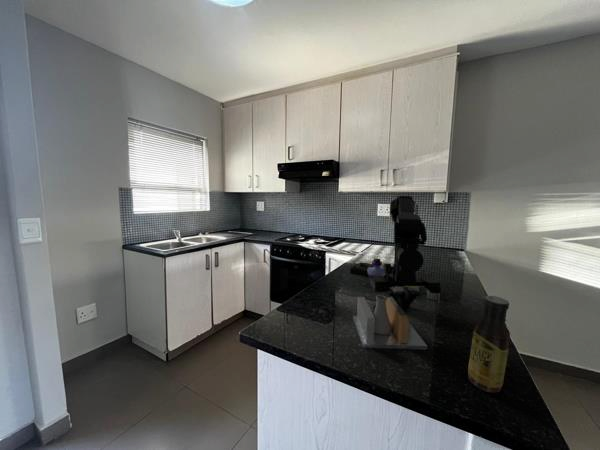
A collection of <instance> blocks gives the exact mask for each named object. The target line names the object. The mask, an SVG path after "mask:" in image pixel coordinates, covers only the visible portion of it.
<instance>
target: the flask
mask: <svg viewBox="0 0 600 450" xmlns="http://www.w3.org/2000/svg"><path fill="white" fill-rule="evenodd" d="M375 299H376V304H375V308H374V311H373V312H372V314H373V316H374V318H375V325H374V333H377V334H380V335H383V334H391V332H392V326H391V323H390V320H389V317H388V314H387V310H386V300H387V295H386V296H385V295H379V294H378V295H376V296H375Z"/></svg>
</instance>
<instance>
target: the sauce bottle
mask: <svg viewBox="0 0 600 450" xmlns="http://www.w3.org/2000/svg"><path fill="white" fill-rule="evenodd" d="M483 304H484V305H483V306H484V307H483V313H482V316H481V317H480V319H479V320H478V323H477V324H476V326H475V327H474V329H473V332H472V338H471V339H472V340H471V346H470V352H469V353H470V354H469V360H468V367H467V376H468V379H469V381H470V383H471V385H474V386H475V387H477V388H478V389H480V390H481V391H483V392H486V393H491V394H495V393H499V392H500V391H501V390H502V387H503V385H504V380H505V379H504V378H505V374H506V369H507V361H508V356H509V349H510V347H509V346H510V340H511V332H510V330H509V329H508V326H507V324H506V321H507V318H506V317H507V311H508V310H509V308H510V307H509V306H510V302H509V301H508V300H507V299H505V298H503V297H499V296H496V295H486V296H485V297H484V301H483Z"/></svg>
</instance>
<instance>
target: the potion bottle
mask: <svg viewBox="0 0 600 450" xmlns="http://www.w3.org/2000/svg"><path fill="white" fill-rule="evenodd" d="M371 264H373V265H374V267H369V268H368V269H367V272H368V276H369V277H368V279H369V284H370V285H371V278H372V277H384V276H385V274H384V272H383V268H380V266H383V262H382V261H381V258H373V260H372V261H371Z"/></svg>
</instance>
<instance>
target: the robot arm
mask: <svg viewBox="0 0 600 450" xmlns="http://www.w3.org/2000/svg"><path fill="white" fill-rule="evenodd" d="M415 212H416V201H415V200H414V199H413V196H411V195H398V196H396V198H395V199H393V200H391V201H390V205H389V214H391V220H392V222H393V243H394V253H393V254H394V255H393V256H394V257H393V258H394V260H393V265H392V264H391V263H383V265H382V266H383V272H384V274H389V275H387V279H386V278H385V277H372V278H371V284H370V286H371V288H372V289H373V291H374V292H376V293H386V297H387V298H390V297H393V298H394V300H395V301H396V302H397V303H398V305H399V306H400V307H401V308H402V310H403V311H404V312H405V313H406V312H407V311H410V306H411V305H412V304H413V302H414V301H415V300H416V298H417V297H418V296H421V295H422V293H421V292H420V291H419V290H420V289H427V291H428V292H429V293H430V294H441V293H443V292H442V289H443V286H442V284H441V283H440V282H439V281H438V280H436V279H434V278H433V277H420V278H419V280H417V272H419V271H420V269H421V268H422V266H423V265H424V261H425V259H424V257H423V254H422V253H421V251H420V249H419V246H425V245H426V242H427V239H428V237H427V227H426V226H425V223H424V222H422V218H421V217H420V216H419V215H418V214H415Z"/></svg>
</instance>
